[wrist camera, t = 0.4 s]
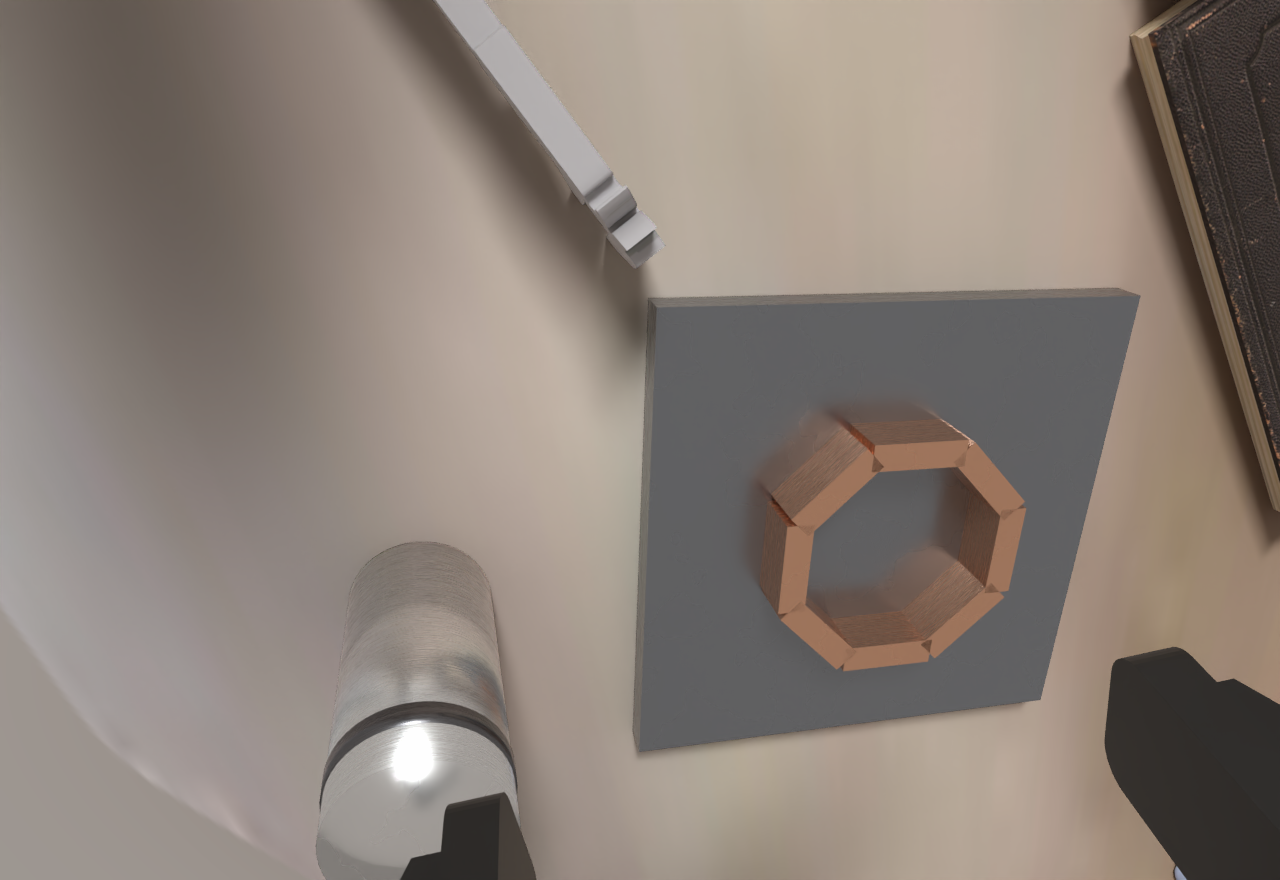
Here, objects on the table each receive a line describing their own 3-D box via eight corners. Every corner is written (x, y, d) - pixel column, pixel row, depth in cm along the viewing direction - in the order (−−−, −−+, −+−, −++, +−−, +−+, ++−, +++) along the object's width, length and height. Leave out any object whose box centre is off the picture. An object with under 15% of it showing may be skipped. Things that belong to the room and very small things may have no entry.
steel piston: (340, 546, 31) (302, 774, 21) (490, 535, 32) (520, 747, 22) (353, 668, 33) (325, 929, 23) (494, 654, 34) (524, 897, 24)
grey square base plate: (648, 298, 30) (672, 324, 27) (1117, 288, 34) (1181, 309, 31) (632, 731, 37) (650, 788, 34) (1023, 682, 41) (1069, 730, 38)
